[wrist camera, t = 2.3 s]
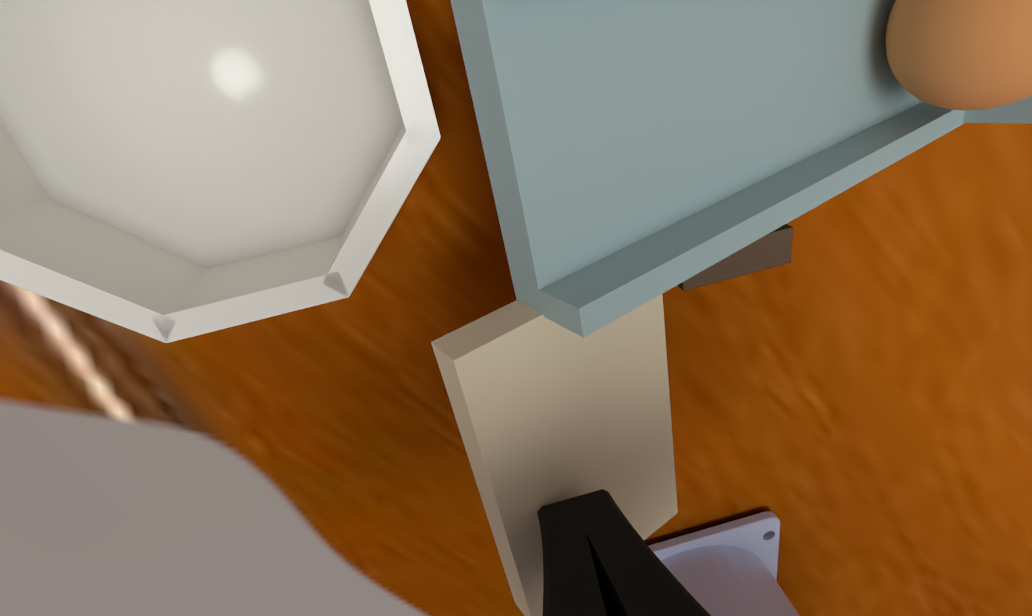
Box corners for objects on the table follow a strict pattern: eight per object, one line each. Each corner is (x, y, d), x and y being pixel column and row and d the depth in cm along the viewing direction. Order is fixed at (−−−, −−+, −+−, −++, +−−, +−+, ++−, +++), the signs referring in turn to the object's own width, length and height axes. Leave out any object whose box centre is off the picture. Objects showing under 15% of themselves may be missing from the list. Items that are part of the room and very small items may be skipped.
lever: (866, 326, 18) (984, 362, 15) (515, 602, 12) (614, 736, 9) (929, -112, 12) (1130, -169, 10) (314, -19, 6) (428, -107, 4)
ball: (950, 87, 13) (1141, 91, 10) (838, 121, 12) (1008, 137, 9) (981, -84, 11) (1221, -140, 8) (854, -56, 11) (1068, -106, 8)
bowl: (462, 223, 14) (473, 265, 11) (108, 311, 13) (31, 377, 11) (340, -250, 10) (311, -367, 7) (-191, -153, 9) (-447, -238, 6)
